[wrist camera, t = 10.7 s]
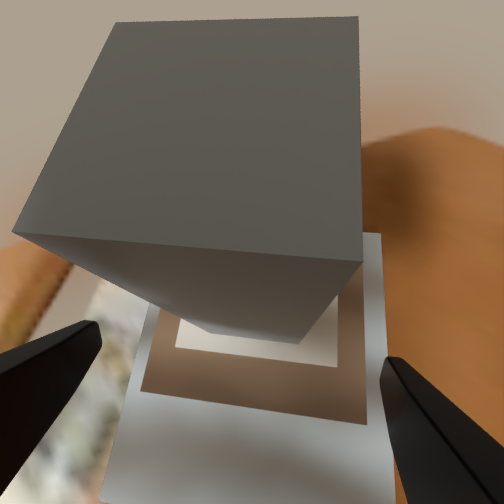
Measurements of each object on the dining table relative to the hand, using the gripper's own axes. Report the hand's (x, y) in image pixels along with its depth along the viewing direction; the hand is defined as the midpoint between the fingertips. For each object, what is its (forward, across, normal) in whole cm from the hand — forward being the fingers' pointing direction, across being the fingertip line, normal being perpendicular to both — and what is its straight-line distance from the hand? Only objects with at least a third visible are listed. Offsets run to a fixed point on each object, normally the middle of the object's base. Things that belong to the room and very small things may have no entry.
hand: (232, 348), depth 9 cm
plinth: (+8, 0, +7) cm, 11 cm away
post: (+8, 0, +3) cm, 8 cm away
